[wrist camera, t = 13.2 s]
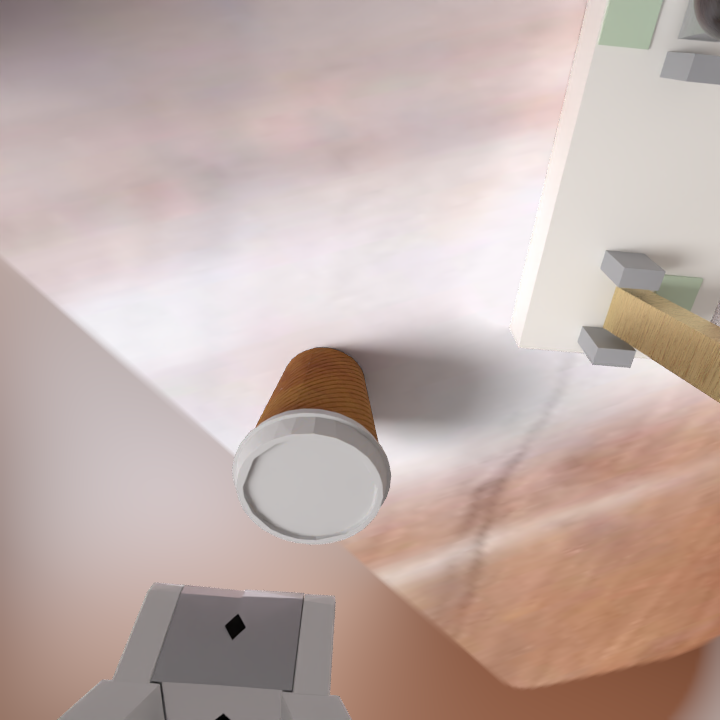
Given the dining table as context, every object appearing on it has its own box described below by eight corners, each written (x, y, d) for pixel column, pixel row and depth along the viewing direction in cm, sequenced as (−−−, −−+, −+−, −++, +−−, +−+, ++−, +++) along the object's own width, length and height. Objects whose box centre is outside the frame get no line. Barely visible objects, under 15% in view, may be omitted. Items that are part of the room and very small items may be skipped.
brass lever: (591, 332, 37) (768, 451, 27) (607, 282, 35) (802, 390, 25) (632, 327, 38) (816, 440, 28) (650, 279, 36) (851, 380, 26)
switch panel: (509, 327, 42) (529, 370, 36) (609, -90, 30) (660, -116, 24) (672, 341, 42) (715, 386, 37) (836, -65, 30) (934, -85, 25)
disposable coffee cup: (331, 303, 41) (318, 396, 30) (411, 392, 44) (423, 503, 34) (235, 373, 44) (193, 481, 33) (317, 452, 47) (302, 571, 37)
